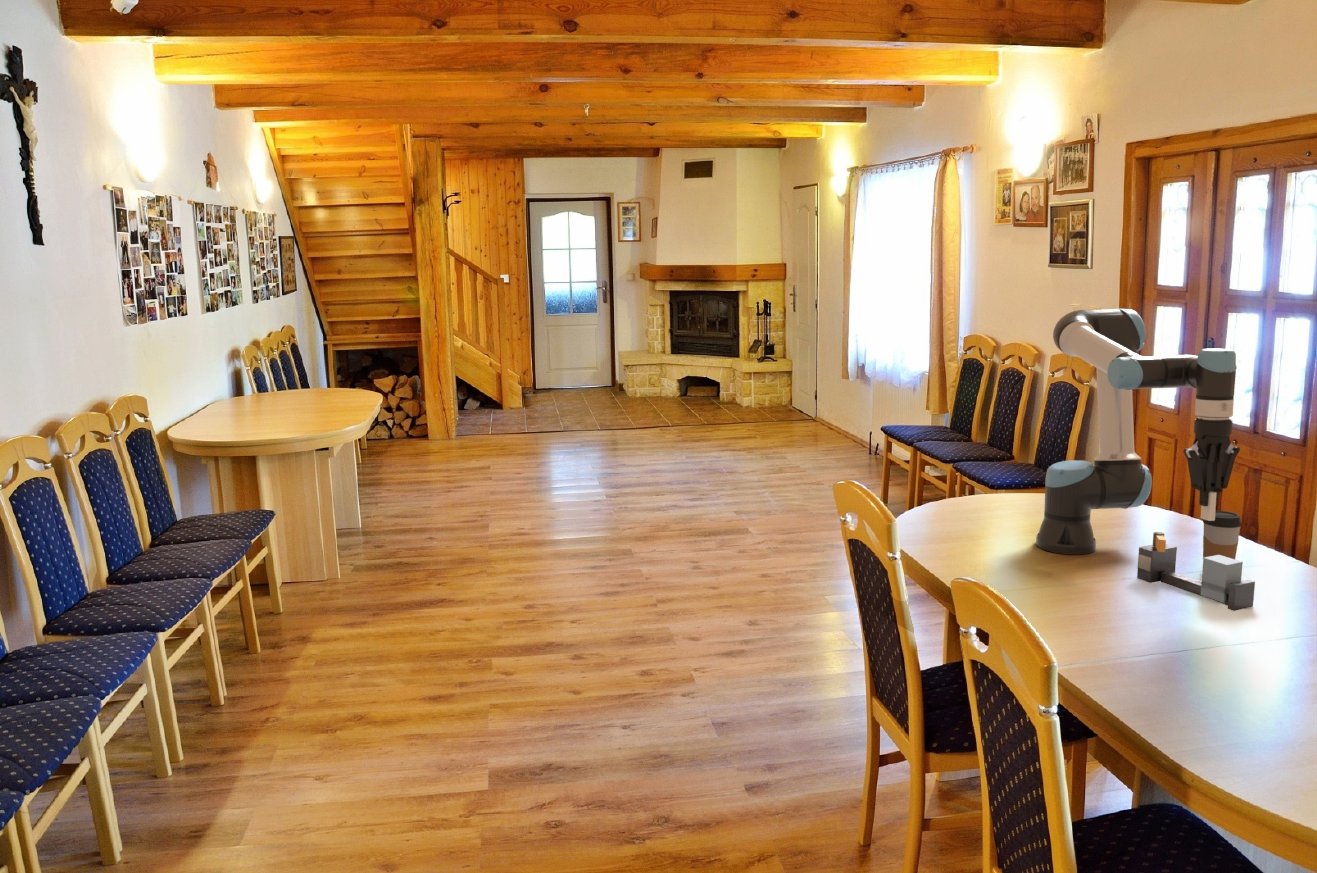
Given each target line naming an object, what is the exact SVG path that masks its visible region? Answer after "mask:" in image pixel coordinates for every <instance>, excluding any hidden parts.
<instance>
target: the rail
mask: <svg viewBox="0 0 1317 873" xmlns="http://www.w3.org/2000/svg"><path fill="white" fill-rule="evenodd" d="M1201 582H1202V580H1201V581H1200V580H1197V579H1194V578H1190V577H1188V576H1185V575H1182V574H1179V573H1176V572H1175V573H1174V572H1171V571H1165V572H1161V581H1160V583H1162V584H1164V585H1168V586H1171V587H1173V588H1177V589H1179V590H1182V591H1185V592H1189V593H1190V594H1194V595H1197V596H1199V597H1202V598H1205V599H1209V600H1211V601H1214V602H1217V603H1219V604H1222V605H1225V606H1228V598H1229V594H1227V597H1226V603H1222V602H1219V601H1217V600H1214V599H1211V598H1208V597H1205V596H1202V595H1201Z"/></svg>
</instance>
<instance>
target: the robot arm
mask: <svg viewBox="0 0 1317 873" xmlns="http://www.w3.org/2000/svg"><path fill="white" fill-rule="evenodd" d="M1052 337H1053V338H1052V339H1053V342H1054V344H1055V346H1056V348H1057V349H1058V350H1059V351H1061V352H1062V353H1063V354H1065V355H1067V356H1069V357H1074V358H1075V357H1077V358H1080V359H1081V360H1083V361H1085V362H1086V363H1088V364H1090V365H1091V366H1093V367H1095V368H1096V388H1097V412H1098V413H1097V415H1098V436H1099V437H1098V439H1099V442H1098V443H1099V454H1098V455H1097V456H1095V457H1094V459H1093V462H1094V463H1093V462H1090V461H1087V460H1082V459H1081V460H1080V459H1079V460H1075V459H1073V460H1072V459H1071V460H1064V461H1058V462H1056V463H1053V464H1051V465H1050V466H1048V468H1047V469H1046V474H1045V480H1044V484H1045V486H1044V487H1045V488H1044V510H1043V511H1044V512H1043V513H1044V515H1043V520H1042V522H1041V524H1040V527H1039V532H1038V533H1037V535H1036V539H1035V544H1036V546H1037V548H1039V549H1041V550H1044V551H1046V552H1051V553H1055V554H1061V555H1062V554H1063V555H1087V554H1091V553H1093V552H1095V551H1096V547H1097V540H1096V538H1095V536H1094V532H1093V531H1094V530H1093V527H1092V523H1091V512H1092V511H1091V510H1102V509H1103V510H1105V509H1107V510H1108V509H1125V510H1126V509H1130V508H1139V507H1140V506H1142V505H1144V503H1145V502H1146V501H1147V500H1148V498H1149V496H1150V493H1151V490H1152V485H1153V484H1152V483H1153V479H1152V474H1151V472H1150V469H1149V468H1148V466H1147V465H1145V464H1143V463H1142V457H1141V456H1139V455H1138V454H1137V453H1136V451H1135V433H1134V432H1135V428H1134V403H1133V390H1143V389H1145V390H1146V389H1147V390H1148V389H1171V388H1172V389H1173V388H1174V389H1175V388H1191V389H1195V403H1194V416H1196V417H1195V419H1193V420H1194V423H1193V432H1194V435H1195V439H1194V441H1193V445H1192V446H1190V447H1189V448H1184V449H1183V455H1185V457H1186V458H1185V459H1186V461H1187V465H1188V466H1187V467H1188V472H1189V477H1190V485H1191V488H1192V489H1194V490H1197V491H1199V497H1198V498H1199V500H1198V504H1199V506H1201V507H1200V519H1202V520H1208V521H1215V511H1217V510H1216V506H1218V505H1219V496H1220V493H1223V491H1224V489H1227V488H1228V486H1229V483H1230V479H1231V475H1232V473H1233V472H1232V471H1233V468H1234V464H1235V461H1236V460H1235V459H1236V457H1237V456H1238V455H1239V452H1240V451H1241V448H1240V447H1239V446H1235V445H1233V444H1232V440H1231V439H1230V436H1231V435H1232V433H1233V422H1234V420H1232V418H1231V417H1233V415H1234V403H1235V402H1234V401H1235V400H1234V396H1235V389H1236V388H1235V387H1236V375H1237V374H1236V373H1237V363H1236V362H1237V354H1236V351H1235V350H1233V349H1232V348H1231V349H1229V348H1202V349H1200V350H1199V351H1198V354H1197V355H1193V354H1191V353H1180V354H1179V353H1178V354H1174V355H1152V356H1145V355H1144V356H1143V355H1140V354H1138V352H1139V351H1140V350H1142V349H1143V348H1144V347H1145V342H1146V338H1147V330H1146V326H1145V322H1144V320H1143V319H1142V317H1141V316H1140V314H1139V313H1138V312H1137V311H1135V310H1133V309H1129V308H1118V307H1117V308H1102V309H1101V308H1098V309H1078V310H1073V311H1071V312H1068V313H1066V314H1065V315H1063V316H1062V317H1061V318H1060V319H1059V320H1058V321H1057V322H1056V323H1055V326H1054V328H1053V333H1052ZM1093 464H1094V465H1093Z"/></svg>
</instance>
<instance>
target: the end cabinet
mask: <svg viewBox="0 0 1317 873" xmlns="http://www.w3.org/2000/svg"><path fill="white" fill-rule="evenodd" d="M1177 550H1178V546H1175V545H1172V544H1169V543H1166V547H1165V552H1158V551H1157V549H1156V547H1154V546H1153V544H1150V545H1144V546H1139V547H1138V558H1137V559H1138V560H1137V573H1136V575H1137V576H1136V579H1138V580H1140V581H1143V582H1147V583H1149V584H1152V583H1158V582H1161V572H1165V571H1171V572H1174V573H1176V564H1177V554H1178V553H1177V552H1178V551H1177Z"/></svg>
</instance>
